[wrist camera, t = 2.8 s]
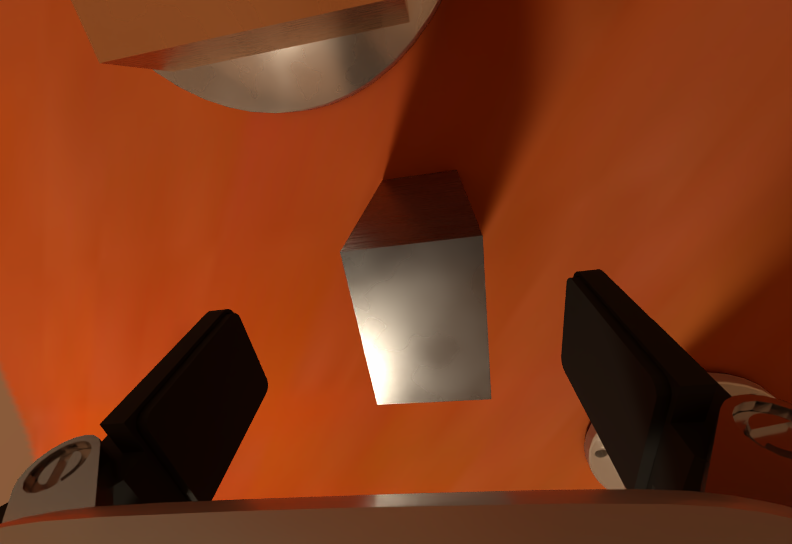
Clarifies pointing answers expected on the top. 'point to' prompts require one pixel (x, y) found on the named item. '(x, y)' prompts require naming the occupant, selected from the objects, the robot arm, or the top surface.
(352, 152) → the top surface
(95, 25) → the beige piece
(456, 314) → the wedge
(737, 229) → the top surface
